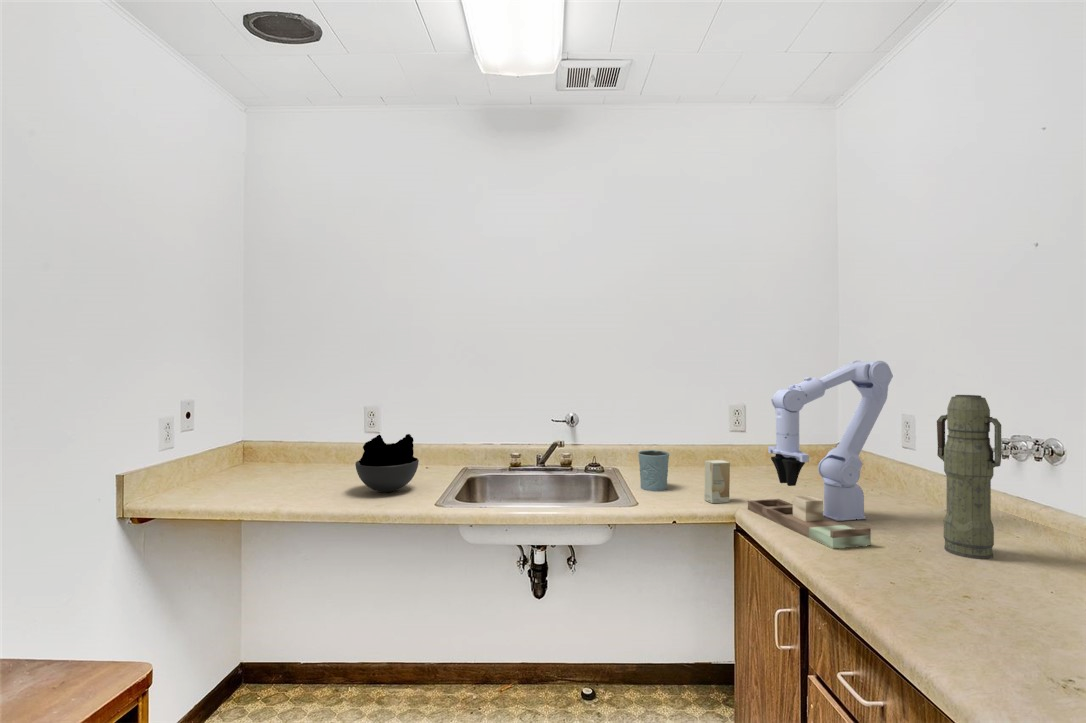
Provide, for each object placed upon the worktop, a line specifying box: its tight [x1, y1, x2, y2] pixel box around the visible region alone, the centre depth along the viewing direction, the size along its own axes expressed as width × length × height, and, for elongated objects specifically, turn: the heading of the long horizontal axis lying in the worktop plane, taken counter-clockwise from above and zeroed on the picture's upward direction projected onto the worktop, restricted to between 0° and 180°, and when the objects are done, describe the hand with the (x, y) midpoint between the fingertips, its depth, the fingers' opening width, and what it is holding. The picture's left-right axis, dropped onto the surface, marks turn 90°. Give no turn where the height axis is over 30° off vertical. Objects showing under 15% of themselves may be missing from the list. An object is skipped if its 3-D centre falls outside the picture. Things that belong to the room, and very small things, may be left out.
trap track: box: [747, 498, 872, 550], centre depth 143 cm, size 10×34×4 cm, turn 12°
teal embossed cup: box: [637, 449, 670, 492], centre depth 185 cm, size 10×10×12 cm
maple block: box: [792, 495, 824, 522], centre depth 141 cm, size 5×5×5 cm
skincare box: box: [704, 459, 731, 504], centre depth 168 cm, size 6×4×12 cm
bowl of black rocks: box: [355, 433, 420, 493], centre depth 182 cm, size 20×20×19 cm
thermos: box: [936, 394, 1002, 560], centre depth 123 cm, size 9×12×35 cm
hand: (787, 484), depth 149 cm, fingers open, 3 cm apart
